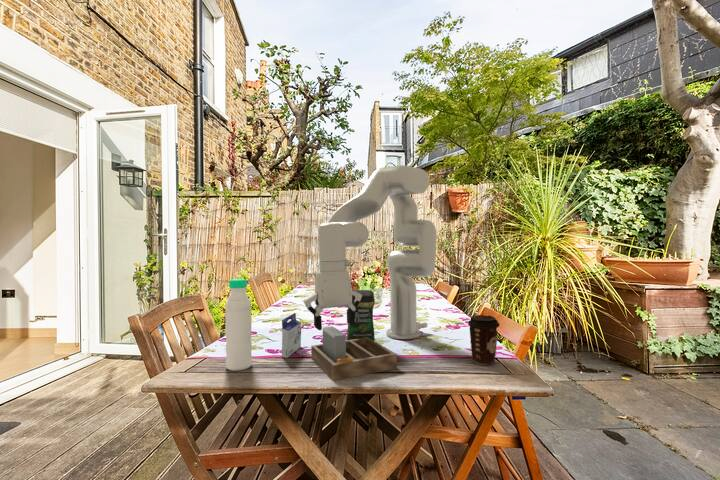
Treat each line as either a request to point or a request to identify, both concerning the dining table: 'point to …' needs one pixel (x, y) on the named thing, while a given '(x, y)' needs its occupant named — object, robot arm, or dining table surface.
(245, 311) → the water bottle
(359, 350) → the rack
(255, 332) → the dining table surface
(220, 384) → the dining table surface
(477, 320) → the coffee cup
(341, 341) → the panel
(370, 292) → the coffee jar
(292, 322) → the ink box
